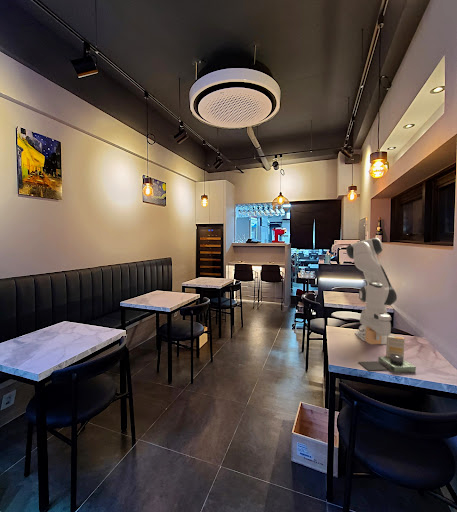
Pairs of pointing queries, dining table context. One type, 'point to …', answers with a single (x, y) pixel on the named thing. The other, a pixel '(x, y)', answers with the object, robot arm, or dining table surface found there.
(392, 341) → the supplement box
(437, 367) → the dining table surface
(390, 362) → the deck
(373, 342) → the stepped tan block
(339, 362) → the dining table surface
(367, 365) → the mount pad
